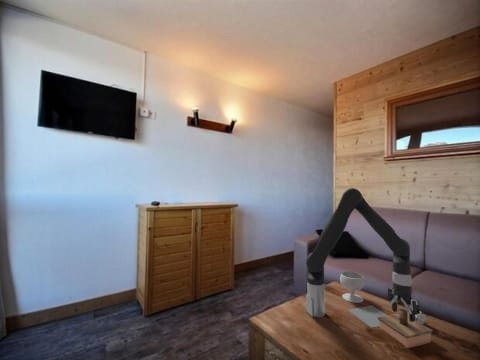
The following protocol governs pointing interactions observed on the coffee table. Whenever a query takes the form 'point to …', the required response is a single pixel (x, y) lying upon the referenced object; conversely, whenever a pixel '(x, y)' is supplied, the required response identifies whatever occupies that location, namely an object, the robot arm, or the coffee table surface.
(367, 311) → the mat
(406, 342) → the pink square tray
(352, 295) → the chalice
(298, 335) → the coffee table surface
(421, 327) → the lid
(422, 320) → the game die
